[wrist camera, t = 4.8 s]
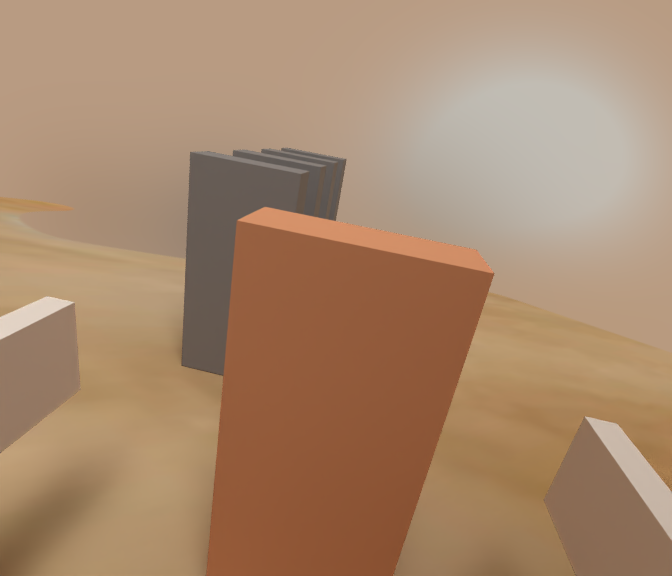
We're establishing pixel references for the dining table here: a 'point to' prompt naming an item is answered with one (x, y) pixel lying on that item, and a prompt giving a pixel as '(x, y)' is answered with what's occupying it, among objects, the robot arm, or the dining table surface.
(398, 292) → the domino
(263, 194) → the domino
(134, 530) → the dining table surface
